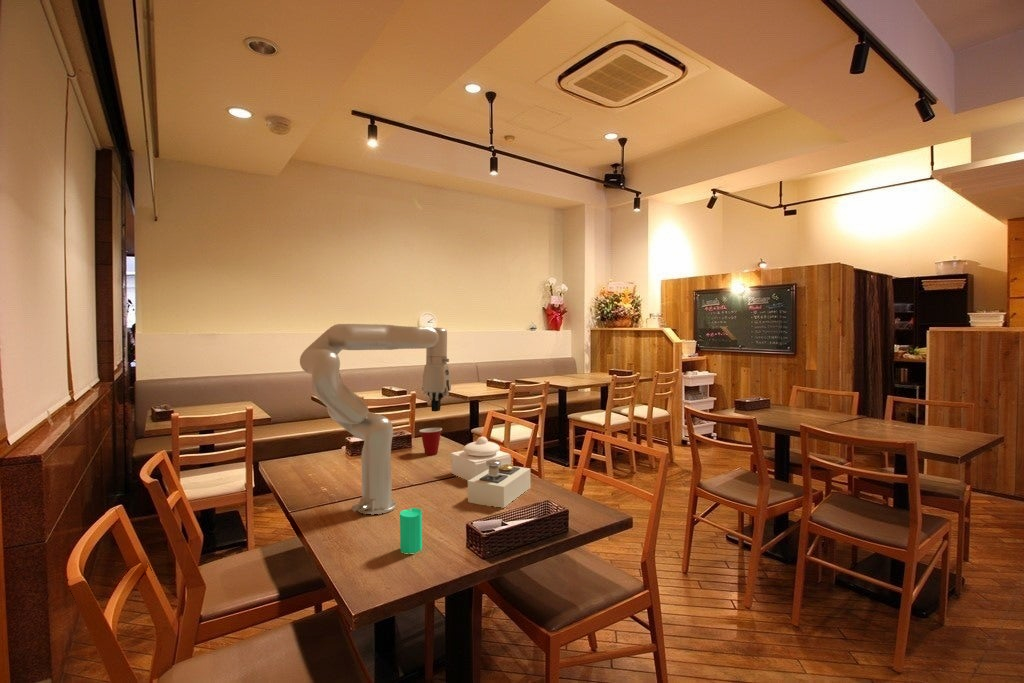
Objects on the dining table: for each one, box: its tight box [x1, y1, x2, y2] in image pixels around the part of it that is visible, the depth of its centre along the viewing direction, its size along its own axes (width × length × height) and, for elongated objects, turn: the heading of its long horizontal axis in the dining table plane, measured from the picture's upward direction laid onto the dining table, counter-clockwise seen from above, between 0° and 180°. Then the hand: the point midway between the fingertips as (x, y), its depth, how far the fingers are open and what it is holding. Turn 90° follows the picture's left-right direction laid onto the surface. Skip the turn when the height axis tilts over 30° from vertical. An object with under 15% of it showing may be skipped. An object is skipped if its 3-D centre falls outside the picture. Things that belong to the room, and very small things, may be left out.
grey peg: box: [486, 460, 501, 480], centre depth 168 cm, size 5×5×8 cm
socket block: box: [467, 464, 532, 509], centre depth 173 cm, size 22×14×8 cm, turn 154°
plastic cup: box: [419, 427, 443, 456], centre depth 228 cm, size 11×11×12 cm
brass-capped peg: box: [500, 464, 514, 472], centre depth 177 cm, size 5×5×8 cm
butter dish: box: [450, 436, 512, 482], centre depth 196 cm, size 18×18×16 cm
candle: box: [399, 507, 423, 554], centre depth 132 cm, size 6×6×12 cm
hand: (435, 410), depth 177 cm, fingers closed
